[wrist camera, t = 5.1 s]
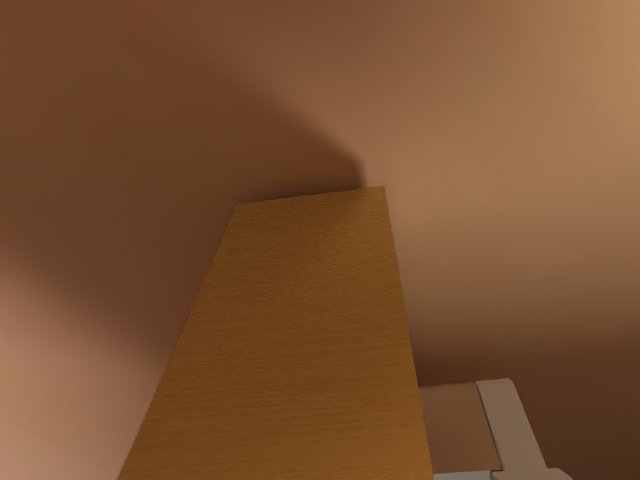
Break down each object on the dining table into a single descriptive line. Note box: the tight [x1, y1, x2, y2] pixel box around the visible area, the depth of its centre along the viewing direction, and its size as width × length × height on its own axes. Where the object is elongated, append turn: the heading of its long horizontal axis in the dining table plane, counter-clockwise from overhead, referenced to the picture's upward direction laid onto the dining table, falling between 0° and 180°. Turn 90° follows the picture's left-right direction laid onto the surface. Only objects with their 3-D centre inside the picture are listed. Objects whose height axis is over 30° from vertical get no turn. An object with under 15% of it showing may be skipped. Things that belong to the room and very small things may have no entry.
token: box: [118, 186, 434, 480], centre depth 8 cm, size 6×2×6 cm, turn 8°
